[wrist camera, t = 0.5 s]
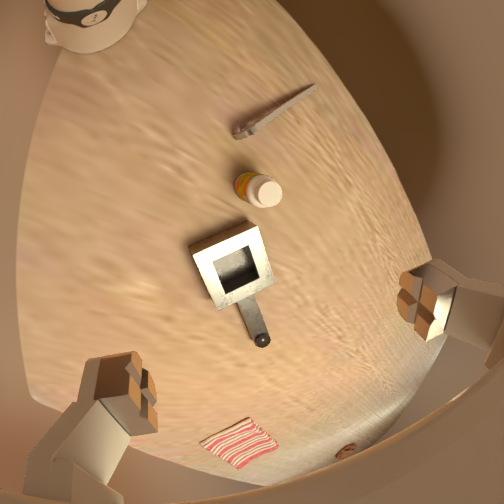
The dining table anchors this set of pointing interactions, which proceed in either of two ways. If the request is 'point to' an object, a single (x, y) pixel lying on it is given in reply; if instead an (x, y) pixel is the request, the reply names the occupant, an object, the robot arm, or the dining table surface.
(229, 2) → the dining table surface
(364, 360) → the dining table surface
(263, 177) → the supplement bottle
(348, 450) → the cookie
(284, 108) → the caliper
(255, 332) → the ratchet holder
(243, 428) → the dish towel
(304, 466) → the dining table surface
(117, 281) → the dining table surface
